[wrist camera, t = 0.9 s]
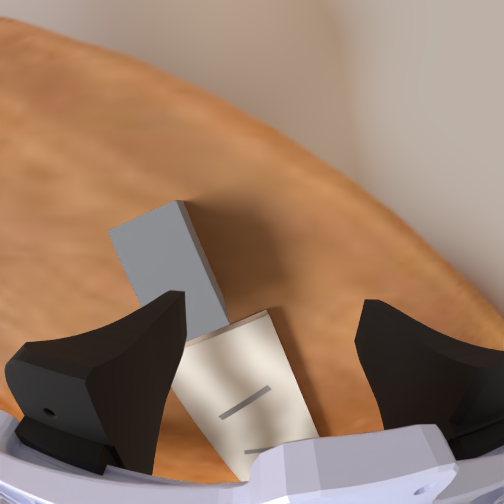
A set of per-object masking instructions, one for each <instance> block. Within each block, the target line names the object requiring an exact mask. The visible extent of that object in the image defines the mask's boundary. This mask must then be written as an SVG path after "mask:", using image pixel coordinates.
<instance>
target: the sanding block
mask: <svg viewBox="0 0 504 504" xmlns="http://www.w3.org/2000/svg"><path fill="white" fill-rule="evenodd" d="M108 234H109V236H110V239H111V241H112V243H113V246H114V248H115V250H116V253H117V255H118V257H119V260H120V262H121V264H122V266H123V269H124V271H125V273H126V275H127V277H128V279H129V282H130V284H131V286H132V288H133V290H134V292H135V294H136V296H137V298H138V300H139V302H140V304H141V306H142V307H143V306H145V305H146V304H148V303H150V302H151V301H153V300H154V299H156V298H158V297H159V296H161V295H162V294H164V293H166V292H167V291H169V290H175V291H185V304H186V323H187V338H186V341H189V340H192V339H194V338H197V337H199V336H202V335H205V334H207V333H210V332H212V331H215V330H217V329H220V328H222V327H225V326H227V325H230V324H229V319H228V314H227V310H226V305H225V300H224V296H223V294H222V292H221V290H220V287H219V285H218V283H217V281H216V278H215V276H214V274H213V271H212V269H211V267H210V264H209V262H208V260H207V257H206V255H205V253H204V250H203V248H202V246H201V243H200V241H199V238H198V236H197V234H196V231H195V229H194V226H193V224H192V221H191V219H190V217H189V214H188V212H187V209H186V207H185V204H184V202H183V201H182V200H175V201H173V202H170V203H168V204H166V205H163V206H161V207H159V208H157V209H154V210H152V211H150V212H148V213H146V214H143V215H141V216H139V217H137V218H135V219H133V220H130V221H128V222H126V223H124V224H122V225H120V226H118V227H116V228H114V229H111V230H109V231H108Z"/></svg>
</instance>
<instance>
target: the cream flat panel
mask: <svg viewBox="0 0 504 504" xmlns="http://www.w3.org/2000/svg"><path fill="white" fill-rule="evenodd" d="M171 388H172V389H173V391H174V392H175V394H176V395H177V397H178V398H179V400H180V401H181V403H182V404H183V406H184V407H185V409H186V410H187V412H188V413H189V415H190V416H191V418H192V419H193V420H194V422H195V423H196V425H197V426H198V427H199V429H200V430H201V432H202V433H203V434H204V436H205V437H206V438H207V440H208V441H209V442H210V444H211V445H212V446H213V448H214V449H215V450H216V451H217V453H218V454H219V455H220V457H221V458H222V459H223V460H224V462H225V463H226V464H227V465H228V467H229V468H230V469H231V470H232V471H233V473H234V474H235V475H236V476H237V477H238V479H239V480H240V481H241V482H243V481H249V479H250V472H251V466H252V464H253V463H254V462H255V460H256V459H257V458H258V456H259V455H260V454H261V453H263V452H264V451H266V450H269V449H271V448H273V447H275V446H277V445H280V444H282V443H284V442H289V441H295V440H301V439H307V438H316V437H319V435H318V433H317V430H316V428H315V425H314V423H313V420H312V418H311V416H310V413H309V411H308V408H307V406H306V404H305V401H304V399H303V396H302V394H301V391H300V389H299V387H298V384H297V382H296V379H295V377H294V374H293V372H292V370H291V367H290V365H289V362H288V360H287V357H286V355H285V353H284V350H283V348H282V345H281V343H280V340H279V338H278V335H277V333H276V330H275V328H274V326H273V323H272V321H271V318H270V316H269V314H268V312H267V310H264V311H262V312H259V313H257V314H255V315H252V316H250V317H247V318H245V319H243V320H240V321H238V322H235V323H233V324H230V325H228V326H226V327H223V328H221V329H218V330H215V331H213V332H210V333H208V334H205V335H203V336H200V337H198V338H195V339H192V340H190V341H187V342H186V343H185V347H184V352H183V356H182V358H181V361H180V364H179V366H178V369H177V372H176V374H175V377H174V380H173V382H172V385H171Z"/></svg>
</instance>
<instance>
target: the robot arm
mask: <svg viewBox="0 0 504 504" xmlns="http://www.w3.org/2000/svg"><path fill="white" fill-rule="evenodd" d="M186 338H187V323H186V304H185V291H175V290H169V291H167V292H166V293H164V294H162V295H161V296H159V297H158V298H156V299H154V300H153V301H151V302H150V303H148V304H146V305H145V306H143V307H142V308H140V309H138V310H136V311H135V312H133V313H131V314H129V315H128V316H126V317H124V318H122V319H120V320H118V321H116V322H114V323H111V324H109V325H106V326H104V327H101V328H99V329H96V330H92V331H89V332H86V333H83V334H79V335H75V336H71V337H67V338H61V339H55V340H47V341H36V342H26V343H25V344H24V345H23V346H22V347H21V348H20V349H19V350H18V351H17V353H16V354H15V355H14V356H13V357H12V358H11V359H10V360H9V361H8V363H7V364H6V365H5V377H6V381H7V384H8V386H9V388H10V390H11V392H12V394H13V396H14V398H15V400H16V402H17V403H18V405H19V407H20V409H21V410H22V412H23V414H24V415H25V416H24V418H23V419H22V421H21V422H19V421H18V420H17V419H16V418H15V417H14V416H12V415H10V414H8V413H6V412H5V411H3V410H1V409H0V504H503V503H504V351H499V350H493V349H488V348H483V347H479V346H475V345H472V344H469V343H465V342H462V341H459V340H456V339H454V338H451V337H449V336H446V335H444V334H442V333H439V332H437V331H435V330H433V329H431V328H429V327H427V326H425V325H424V324H422V323H420V322H418V321H416V320H415V319H413V318H411V317H409V316H408V315H406V314H404V313H403V312H401V311H399V310H397V309H396V308H394V307H392V306H391V305H389V304H387V303H385V302H383V301H380V300H370V299H365V301H364V305H363V309H362V313H361V317H360V321H359V325H358V329H357V333H356V337H355V340H354V341H355V345H356V349H357V353H358V357H359V360H360V363H361V365H362V368H363V370H364V372H365V375H366V377H367V379H368V382H369V384H370V386H371V389H372V391H373V393H374V396H375V398H376V401H377V404H378V407H379V410H380V414H381V418H382V422H383V426H384V430H383V431H376V432H369V433H361V434H352V435H342V436H331V437H316V438H307V439H301V440H295V441H289V442H284V443H282V444H280V445H277V446H275V447H273V448H271V449H269V450H266V451H264V452H263V453H261V454H260V455H259V456H258V458H257V459H256V460H255V462H254V463H253V464H252V466H251V472H250V479H249V481H243V482H232V483H217V484H203V483H194V482H187V481H180V480H173V479H168V478H162V477H157V476H152V472H153V464H154V458H155V451H156V445H157V439H158V434H159V429H160V424H161V419H162V415H163V410H164V406H165V402H166V399H167V396H168V393H169V390H170V388H171V385H172V382H173V380H174V377H175V374H176V372H177V369H178V366H179V364H180V361H181V358H182V356H183V352H184V347H185V343H186Z"/></svg>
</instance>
